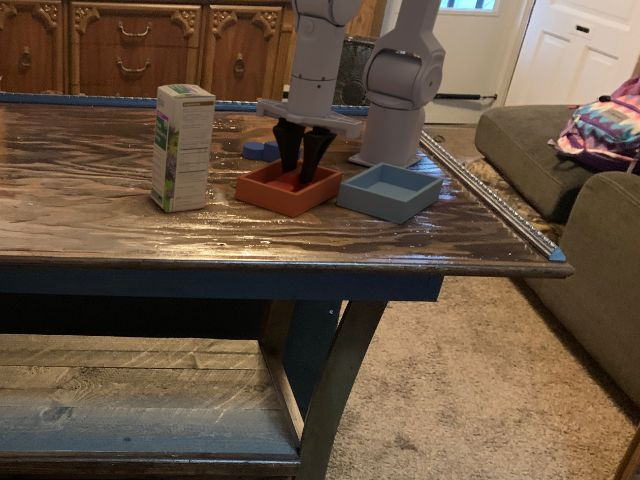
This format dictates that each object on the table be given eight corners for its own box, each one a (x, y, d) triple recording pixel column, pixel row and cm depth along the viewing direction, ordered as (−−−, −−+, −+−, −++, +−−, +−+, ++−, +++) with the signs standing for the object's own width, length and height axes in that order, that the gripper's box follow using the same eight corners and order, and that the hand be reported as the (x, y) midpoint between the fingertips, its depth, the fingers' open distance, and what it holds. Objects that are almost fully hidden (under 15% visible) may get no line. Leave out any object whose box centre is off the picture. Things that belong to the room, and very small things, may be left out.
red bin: (282, 176, 110) (285, 156, 108) (339, 193, 105) (343, 172, 104) (234, 198, 103) (237, 177, 101) (293, 217, 98) (297, 195, 96)
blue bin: (376, 182, 109) (381, 161, 108) (438, 199, 105) (444, 178, 103) (336, 204, 102) (340, 183, 100) (400, 224, 97) (406, 202, 95)
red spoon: (282, 205, 100) (285, 186, 98) (257, 197, 102) (260, 178, 100) (317, 187, 106) (320, 169, 104) (293, 180, 108) (296, 162, 106)
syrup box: (149, 197, 102) (154, 85, 93) (188, 193, 104) (197, 82, 95) (165, 213, 97) (172, 96, 89) (207, 208, 99) (217, 93, 91)
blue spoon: (237, 155, 117) (239, 138, 116) (251, 150, 120) (253, 133, 118) (289, 170, 112) (292, 153, 111) (302, 164, 115) (305, 147, 113)
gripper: (248, 70, 98) (237, 173, 105) (350, 92, 90) (329, 201, 98) (278, 62, 102) (264, 161, 110) (377, 82, 94) (355, 187, 102)
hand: (297, 179), depth 104 cm, fingers closed
